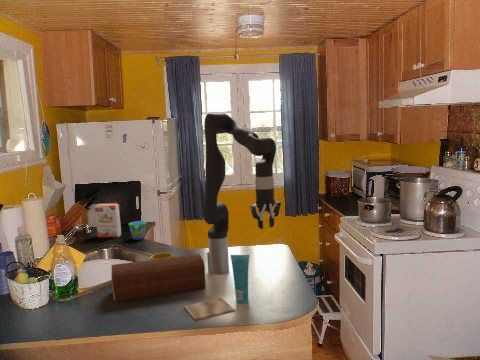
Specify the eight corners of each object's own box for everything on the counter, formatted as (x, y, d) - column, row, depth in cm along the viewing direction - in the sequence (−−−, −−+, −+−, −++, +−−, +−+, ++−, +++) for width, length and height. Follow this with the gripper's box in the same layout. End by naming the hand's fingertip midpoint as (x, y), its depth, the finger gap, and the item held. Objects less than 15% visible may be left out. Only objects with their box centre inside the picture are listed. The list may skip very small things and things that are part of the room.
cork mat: (195, 320, 166) (195, 319, 166) (183, 307, 178) (183, 306, 178) (234, 310, 173) (234, 309, 173) (221, 299, 185) (221, 297, 185)
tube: (251, 298, 184) (249, 252, 181) (251, 303, 179) (249, 256, 176) (232, 299, 184) (230, 253, 181) (232, 304, 179) (230, 257, 177)
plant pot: (151, 273, 219) (149, 254, 217) (172, 270, 222) (171, 251, 220) (154, 280, 209) (152, 260, 208) (176, 277, 212) (174, 257, 211)
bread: (113, 290, 200) (110, 261, 198) (200, 278, 210) (198, 250, 208) (113, 303, 185) (110, 272, 183) (206, 290, 196) (205, 260, 194)
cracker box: (97, 237, 291) (94, 205, 288) (101, 235, 297) (98, 203, 294) (117, 237, 288) (114, 205, 285) (121, 235, 294) (119, 203, 291)
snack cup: (132, 235, 292) (131, 220, 290) (149, 234, 292) (147, 219, 290) (127, 242, 276) (125, 226, 275) (144, 241, 276) (143, 225, 275)
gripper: (275, 184, 191) (276, 223, 194) (245, 187, 185) (246, 228, 188) (284, 186, 185) (285, 227, 187) (253, 190, 179) (255, 232, 181)
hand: (266, 227), depth 187 cm, fingers open, 4 cm apart
